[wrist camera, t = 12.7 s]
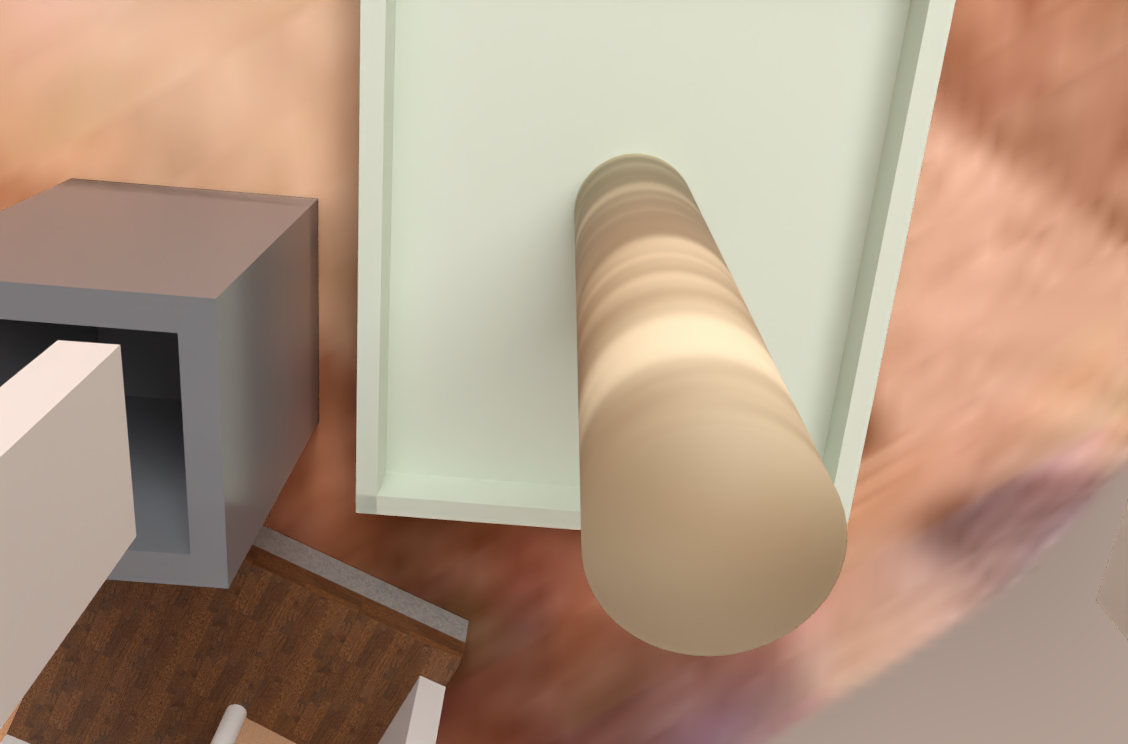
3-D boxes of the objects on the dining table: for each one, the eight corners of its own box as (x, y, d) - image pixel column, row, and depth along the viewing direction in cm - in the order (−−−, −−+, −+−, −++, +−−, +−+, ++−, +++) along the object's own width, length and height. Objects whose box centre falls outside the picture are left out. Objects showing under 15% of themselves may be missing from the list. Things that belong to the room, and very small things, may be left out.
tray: (381, -183, 26) (362, -196, 24) (948, -133, 26) (984, -140, 24) (371, 472, 33) (355, 512, 30) (823, 507, 33) (842, 549, 31)
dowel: (580, 148, 28) (594, 415, 12) (701, 158, 28) (870, 436, 12) (569, 265, 29) (570, 647, 13) (685, 275, 29) (822, 664, 14)
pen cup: (71, 178, 29) (-129, 270, 21) (317, 198, 30) (215, 298, 21) (91, 403, 32) (-80, 565, 24) (318, 421, 32) (228, 588, 24)
